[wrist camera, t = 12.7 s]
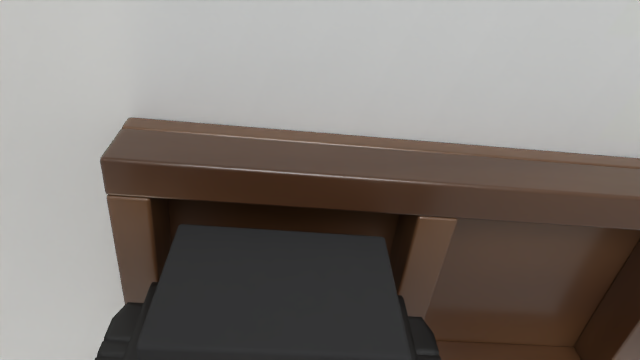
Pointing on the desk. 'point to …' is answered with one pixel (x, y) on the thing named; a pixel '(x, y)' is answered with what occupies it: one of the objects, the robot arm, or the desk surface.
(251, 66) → the desk surface
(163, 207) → the brown wooden divided tray
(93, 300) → the desk surface
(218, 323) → the black block
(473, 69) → the desk surface
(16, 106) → the desk surface
